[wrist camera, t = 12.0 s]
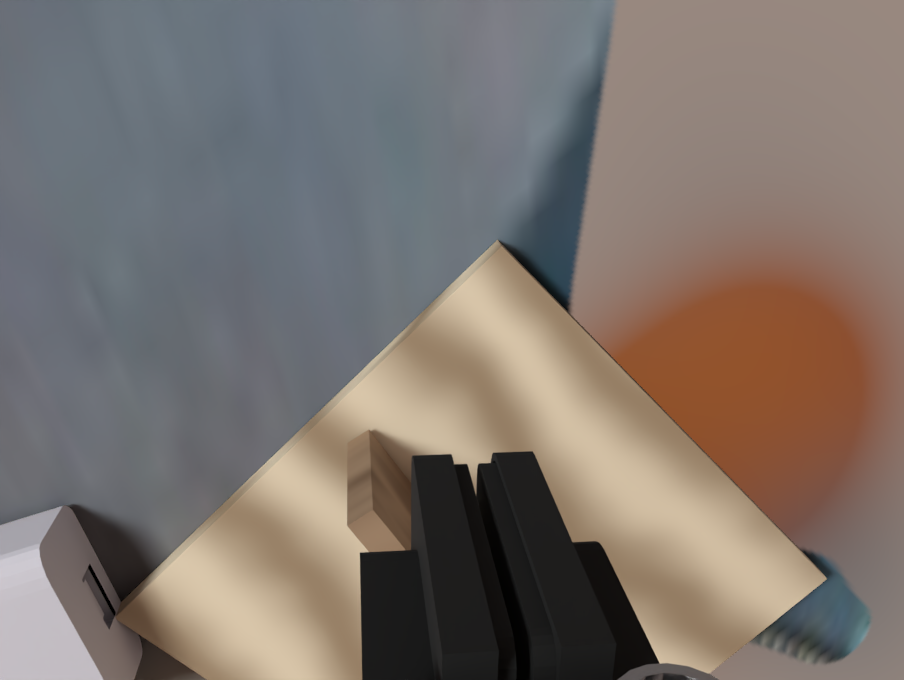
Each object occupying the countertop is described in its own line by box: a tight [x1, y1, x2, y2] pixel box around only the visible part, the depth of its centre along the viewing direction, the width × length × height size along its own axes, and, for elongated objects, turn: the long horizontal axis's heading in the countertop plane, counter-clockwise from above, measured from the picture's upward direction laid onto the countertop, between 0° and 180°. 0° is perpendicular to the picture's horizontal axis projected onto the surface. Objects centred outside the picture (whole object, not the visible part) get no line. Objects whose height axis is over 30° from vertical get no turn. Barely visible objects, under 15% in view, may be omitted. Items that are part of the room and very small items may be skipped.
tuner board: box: [115, 240, 827, 680], centre depth 44 cm, size 26×26×1 cm
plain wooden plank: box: [347, 430, 411, 552], centre depth 40 cm, size 24×4×7 cm, turn 33°
